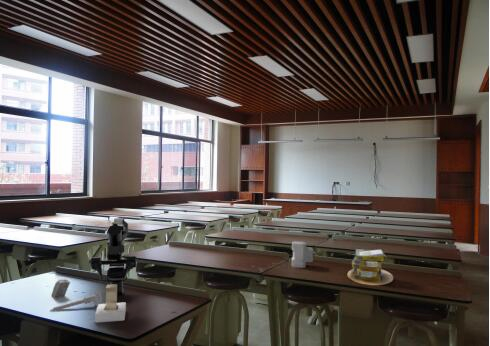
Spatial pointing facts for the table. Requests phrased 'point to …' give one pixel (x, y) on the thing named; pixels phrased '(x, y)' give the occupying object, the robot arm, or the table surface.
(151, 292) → the table surface
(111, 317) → the socket block
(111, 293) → the birch peg
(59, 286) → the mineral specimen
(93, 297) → the caliper
